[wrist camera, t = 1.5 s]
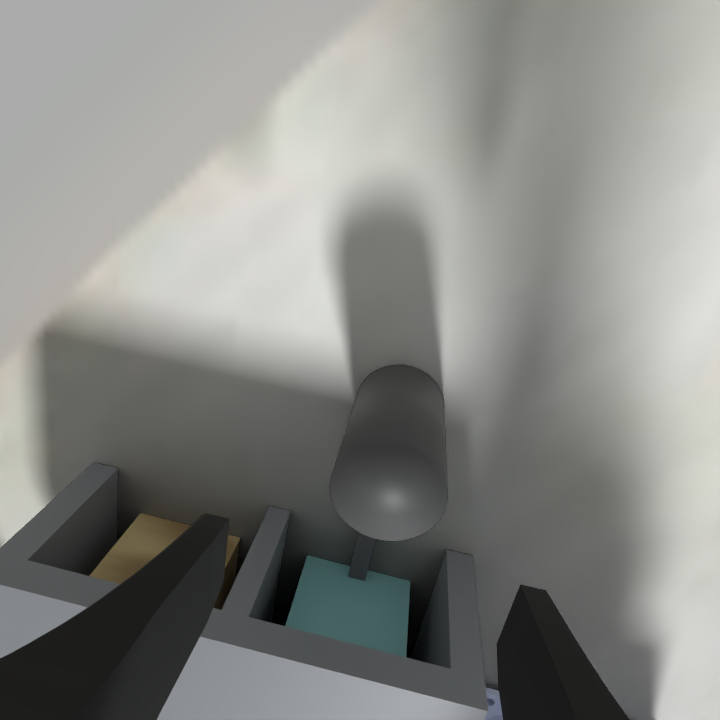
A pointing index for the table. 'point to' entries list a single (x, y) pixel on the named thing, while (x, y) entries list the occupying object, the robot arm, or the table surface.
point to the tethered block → (378, 509)
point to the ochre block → (156, 552)
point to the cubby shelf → (249, 627)
